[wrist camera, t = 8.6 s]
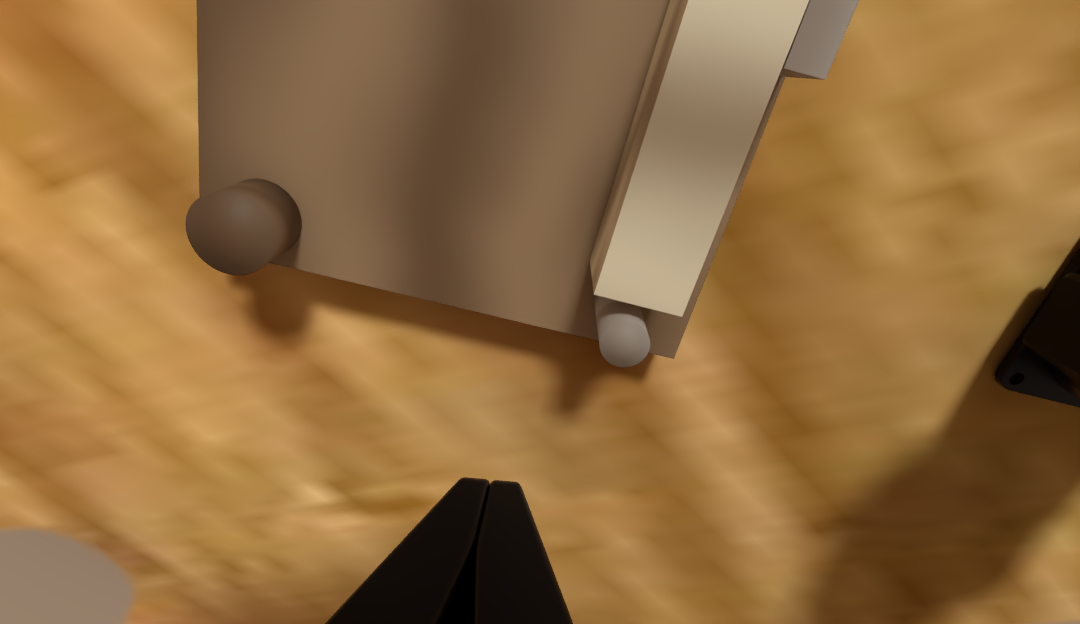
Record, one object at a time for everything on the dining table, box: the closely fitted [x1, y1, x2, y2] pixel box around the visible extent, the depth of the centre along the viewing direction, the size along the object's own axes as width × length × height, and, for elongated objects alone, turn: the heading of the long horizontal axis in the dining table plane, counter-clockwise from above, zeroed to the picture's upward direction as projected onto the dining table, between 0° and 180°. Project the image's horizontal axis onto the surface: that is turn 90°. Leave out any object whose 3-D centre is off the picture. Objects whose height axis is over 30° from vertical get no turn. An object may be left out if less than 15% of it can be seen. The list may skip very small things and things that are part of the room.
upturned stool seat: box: [186, 0, 859, 367], centre depth 15 cm, size 16×15×5 cm
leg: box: [590, 0, 809, 317], centre depth 15 cm, size 8×2×3 cm, turn 166°
